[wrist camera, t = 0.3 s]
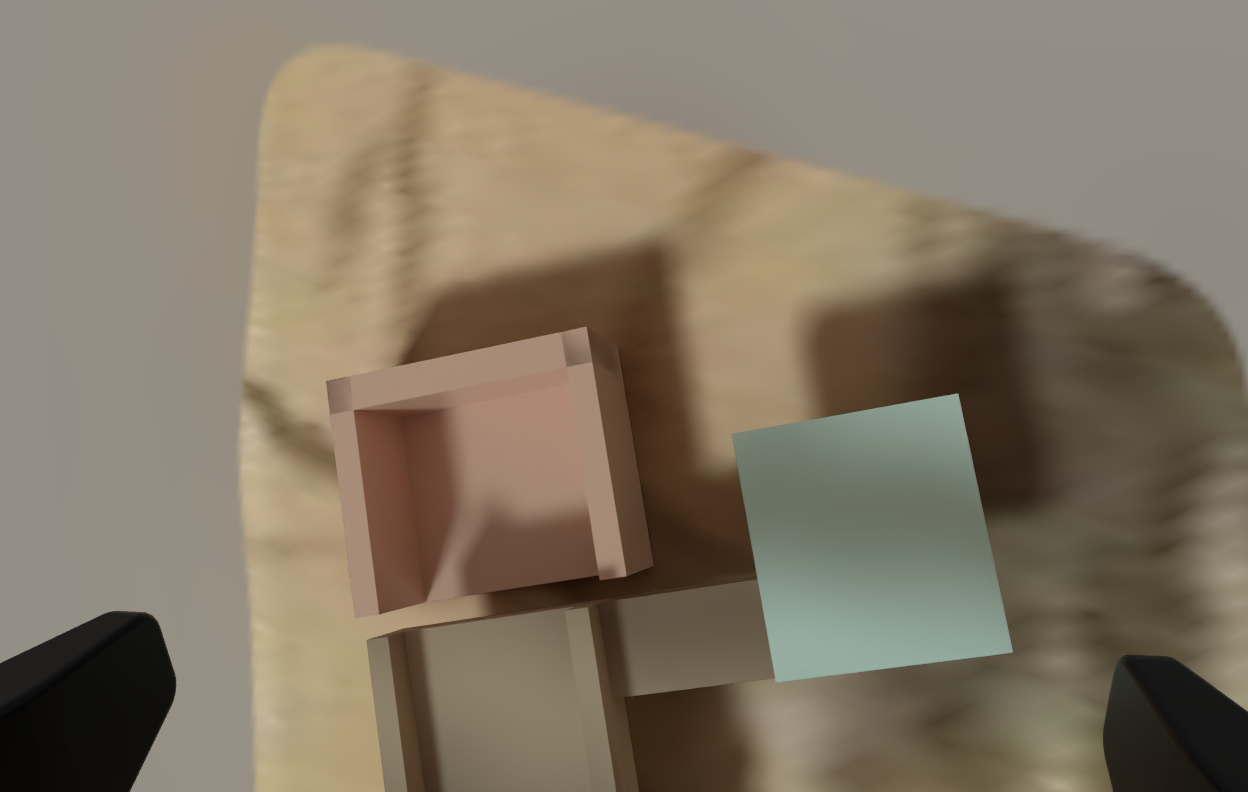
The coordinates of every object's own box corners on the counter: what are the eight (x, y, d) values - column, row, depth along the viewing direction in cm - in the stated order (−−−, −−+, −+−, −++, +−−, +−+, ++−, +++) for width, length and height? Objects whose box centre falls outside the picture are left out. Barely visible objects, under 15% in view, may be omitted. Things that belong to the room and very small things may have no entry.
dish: (653, 565, 24) (626, 575, 21) (412, 603, 25) (354, 618, 22) (618, 346, 24) (586, 326, 21) (385, 393, 26) (326, 381, 23)
